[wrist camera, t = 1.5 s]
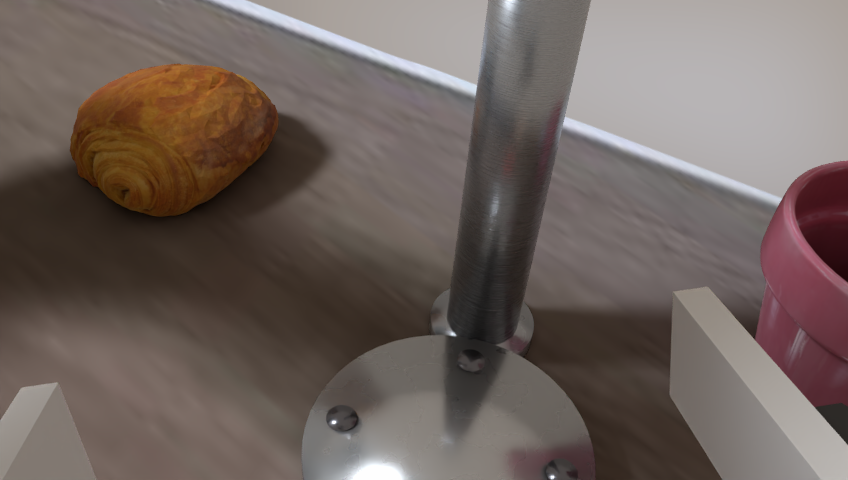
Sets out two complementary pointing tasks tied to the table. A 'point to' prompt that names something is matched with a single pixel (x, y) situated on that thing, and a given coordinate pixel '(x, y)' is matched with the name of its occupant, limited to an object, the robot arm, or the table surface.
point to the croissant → (171, 136)
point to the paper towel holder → (475, 299)
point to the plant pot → (809, 285)
